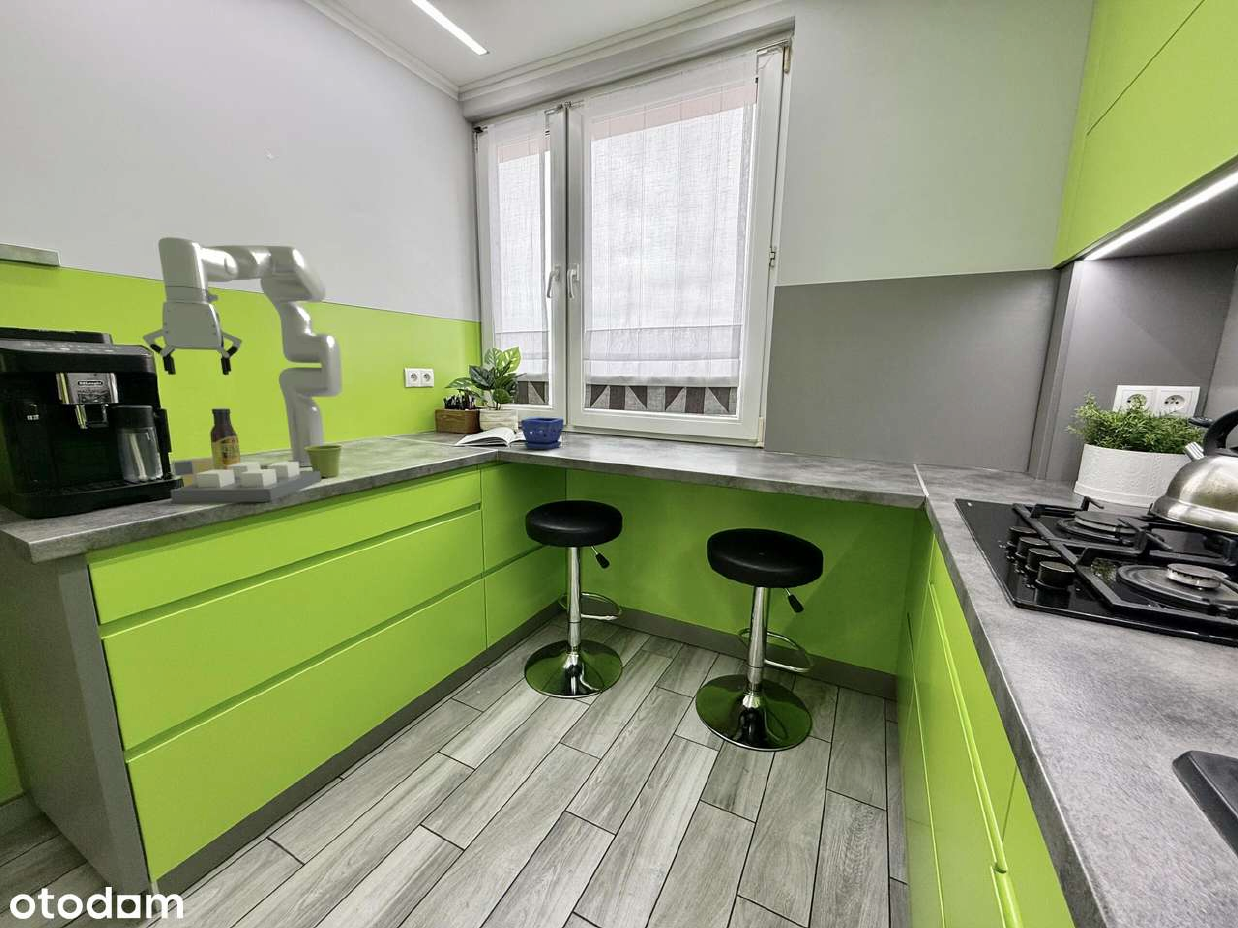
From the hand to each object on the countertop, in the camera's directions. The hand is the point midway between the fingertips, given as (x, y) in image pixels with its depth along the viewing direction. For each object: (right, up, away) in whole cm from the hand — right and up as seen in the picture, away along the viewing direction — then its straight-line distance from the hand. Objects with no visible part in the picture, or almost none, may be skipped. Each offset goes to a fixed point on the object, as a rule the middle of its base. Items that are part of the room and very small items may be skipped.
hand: (199, 374), depth 112 cm
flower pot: (+67, -14, +85) cm, 109 cm away
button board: (+4, -28, +12) cm, 30 cm away
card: (-12, -27, +14) cm, 33 cm away
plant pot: (+11, -25, +30) cm, 40 cm away
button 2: (-2, -25, +16) cm, 29 cm away
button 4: (+8, -25, +17) cm, 31 cm away
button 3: (+9, -26, +7) cm, 29 cm away
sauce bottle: (-17, -25, +29) cm, 42 cm away
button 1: (-1, -27, +6) cm, 27 cm away
